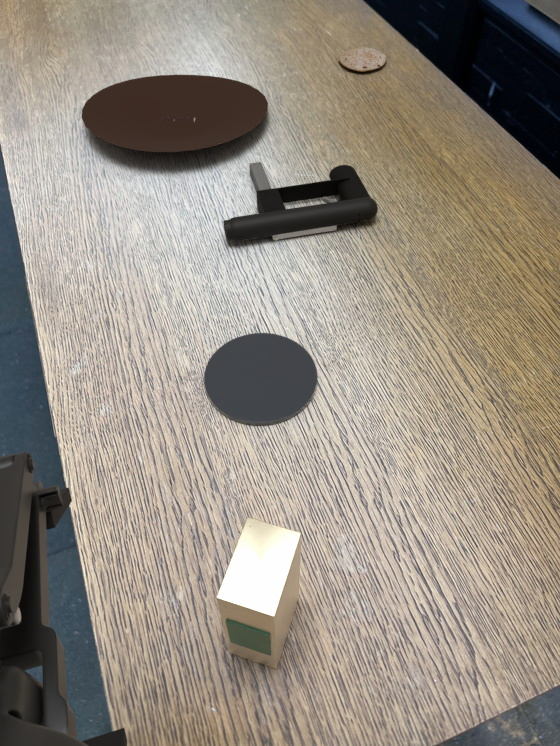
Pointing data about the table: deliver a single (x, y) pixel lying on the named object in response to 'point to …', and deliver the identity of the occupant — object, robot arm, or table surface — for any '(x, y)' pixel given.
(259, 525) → the tea tin
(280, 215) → the door handle
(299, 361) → the coaster
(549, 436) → the table surface
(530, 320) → the table surface
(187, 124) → the plate
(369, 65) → the flatbread
